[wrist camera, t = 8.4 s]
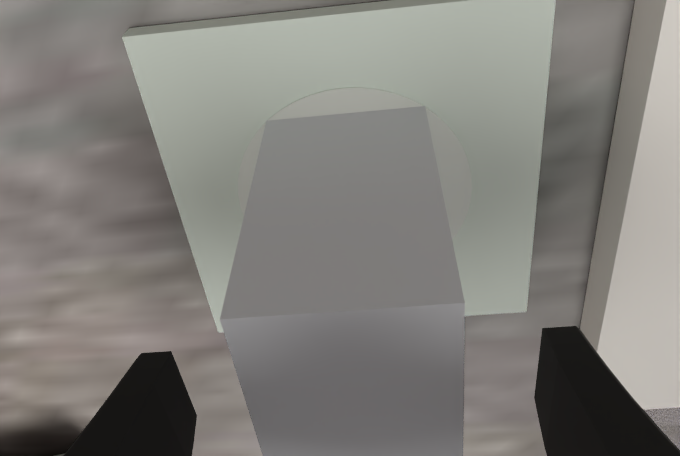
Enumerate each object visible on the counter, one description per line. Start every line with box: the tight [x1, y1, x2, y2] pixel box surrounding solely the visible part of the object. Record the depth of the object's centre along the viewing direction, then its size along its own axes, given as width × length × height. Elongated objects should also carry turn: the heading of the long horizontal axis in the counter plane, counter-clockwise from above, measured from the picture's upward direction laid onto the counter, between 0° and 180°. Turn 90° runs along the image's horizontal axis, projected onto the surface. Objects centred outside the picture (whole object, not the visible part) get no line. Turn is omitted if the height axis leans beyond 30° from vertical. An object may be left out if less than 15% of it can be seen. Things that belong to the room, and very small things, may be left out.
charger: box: [220, 106, 465, 456], centre depth 14 cm, size 4×4×7 cm
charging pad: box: [122, 0, 556, 332], centre depth 18 cm, size 10×10×1 cm
